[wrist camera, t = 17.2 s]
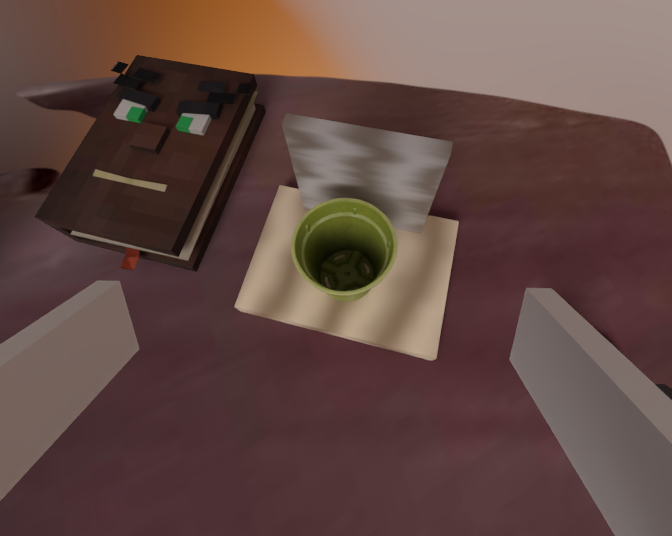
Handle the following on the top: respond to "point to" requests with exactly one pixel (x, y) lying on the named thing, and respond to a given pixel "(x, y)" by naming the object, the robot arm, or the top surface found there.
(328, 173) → the shelf board
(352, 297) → the plant pot
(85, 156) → the decorative book
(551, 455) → the top surface
